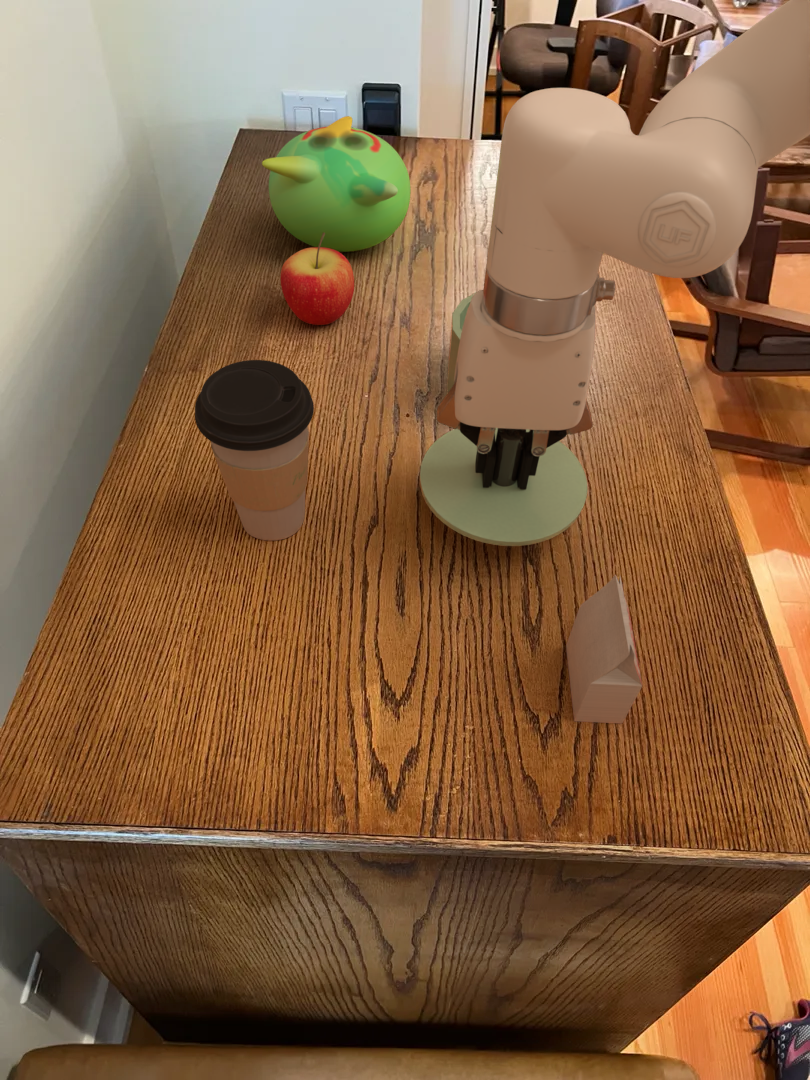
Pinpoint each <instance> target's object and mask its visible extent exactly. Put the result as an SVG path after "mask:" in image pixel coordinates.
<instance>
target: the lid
mask: <svg viewBox="0 0 810 1080" xmlns="http://www.w3.org/2000/svg"><path fill="white" fill-rule="evenodd" d="M526 432H529V429H507V428H496V430H495V446H496V461H495V467H494V473H493V479H492V485H491V486H489V488H485V487H483V479H482V473H476V472H475V462H476V453H477V446H476V445H475V444H473V443H472V442H471V441H470V440H469V439H468V438H466V437H465V436H464V435H463V434H462V433H461V432H460V430H458V429H453V428H452V429H451V430H449V431H448V432H446V433H444V434H443V435H441V436H440V437H438V438H437V439H436V440H435V441H434V442H433V443H432V444H431V445H430V447H429V448H428V449H427V451H426V453H425V454H424V456H423V457H422V461H421V464H420V467H419V468H420V469H419V487H420V491H421V495H422V497H423V499H424V501H425V504H426V505H427V506H428V508H429V510H430V511H431V512H432V513H433V515H435V517H436V518H437V519H438V520H440V522H442V523H443V525H445V526H446V527H448V528H449V529H451V531H455V532H456V533H458V534H459V535H462V536H464V537H466V538H469V539H471V540H473V541H477V542H480V543H484V544H489V545H494V546H502V547H521V546H531V545H535V544H539V543H542V542H546V541H548V540H551V539H553V538H555V537H557V536H559V535H560V534H562V533H564V532H566V530H568V529H569V528H570V527H571V526H572V525H573V524H574V523H575V522H576V521H577V519H578V518H579V517H580V516H581V513H582V512H583V510H584V506H585V504H586V501H587V497H588V490H589V487H588V480H587V476H586V473H585V472H586V471H585V470H584V468H583V465H582V464H581V461H580V460H579V459H578V457H577V456H576V455H575V454H574V452H573V451H572V450H571V449H569V447H568V446H566V444H564V443H563V442H562V441H561V440H560V441H558V442H556V443H555V444H553V445H551V446H549V447H548V448H546V452H545V454H544V455H542V456H540V457H539V461H538V466H537V470H536V474H535V476H529V478H528V483H527V488H526V489H520V488H518V485H517V477H518V472H519V467H520V462H521V457H522V452H523V447H524V442H525V438H526Z"/></svg>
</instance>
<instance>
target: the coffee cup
mask: <svg viewBox="0 0 810 1080" xmlns="http://www.w3.org/2000/svg"><path fill="white" fill-rule="evenodd" d="M314 413H315V403H314V400H313V398H312V394H311V391H310V390H309V388H308V387H307V384H306V383H304V381H303V380H301V378H299V377H298V375H297V373H295V372H294V371H293V370H292V369H291V368H290V367H287V366H286V365H284V364H281V363H278V362H276V361H271V360H264V359H247V360H241V361H236V362H233V363H230V364H228V365H225V366H223V367H221V368H219V369H218V370H216V371H214V372H213V373H212V374H211V375H209V377H208V378H207V379H206V380H205V381H204V383H203V385H202V388H201V390H200V392H199V394H198V396H197V398H196V400H195V404H194V419H195V420H194V421H195V424H196V427H197V429H198V430H199V432H200V434H202V435H203V436H204V438H206V440H208V441H210V448H211V450H212V453H213V456H214V458H215V462H216V463H217V466H218V470H219V472H220V474H221V477H222V480H223V483H224V485H225V488H226V489H227V493H228V496H229V498H230V499H231V500H232V502H233V504H234V506H235V509H236V512H237V514H238V517H239V519H240V523H241V525H242V527H243V529H244V531H245V533H247V534H248V535H249V536H250V537H253V538H256V539H258V540H261V541H268V542H270V541H273V542H274V541H281V540H285V539H288V538H290V537H292V536H294V535H295V534H296V533H298V531H299V530H300V529H301V527H302V525H303V524H304V520H305V515H306V514H305V512H306V488H307V484H308V476H309V475H308V474H309V448H310V447H309V444H310V443H309V442H310V431H309V425H310V423H311V421H312V420H313V416H314Z"/></svg>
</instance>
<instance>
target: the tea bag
mask: <svg viewBox="0 0 810 1080" xmlns="http://www.w3.org/2000/svg"><path fill="white" fill-rule="evenodd" d="M623 586H624V585H623V582H622V576H621V574H620V575H619V579H618V577H617V574H614V575H613V576H612V578H610V580H609V581H607V583H606V584H604V586H602V587H601V588H600V589H599V590H598V591H597V592H595V593H593V595H591V596H590V597H589V598H587V599H586V600H585V601H583V602H582V603H581V604H580V605H579V607H578V611H577V613H576V617H575V619H574V622H573V624H572V626H571V630H570V633H569V636H568V639H567V641H566V645H565V651H566V659H567V668H568V678H569V685H570V686H569V687H570V696H571V704H572V714H573V722H579V723H600V724H601V723H603V724H621V725H623V724H624V721H625V719H626V717H627V716H628V714H629V712H630V710H631V709H632V706H633V705H634V702H635V701H636V699H637V697H638V695H639V694H640V692H641V690H642V688H643V682H642V681H643V680H642V675H641V670H640V663H639V659H638V658H639V657H638V653H637V647H636V642H635V641H636V640H635V636H634V630H633V625H632V619H631V613H630V608H629V605H628V603H627V600H626V597H625V593H624V587H623Z"/></svg>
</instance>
